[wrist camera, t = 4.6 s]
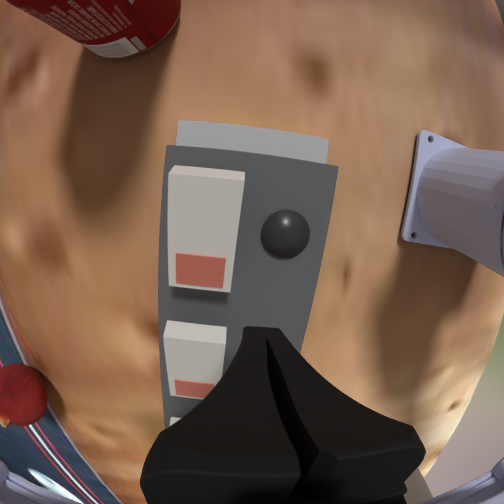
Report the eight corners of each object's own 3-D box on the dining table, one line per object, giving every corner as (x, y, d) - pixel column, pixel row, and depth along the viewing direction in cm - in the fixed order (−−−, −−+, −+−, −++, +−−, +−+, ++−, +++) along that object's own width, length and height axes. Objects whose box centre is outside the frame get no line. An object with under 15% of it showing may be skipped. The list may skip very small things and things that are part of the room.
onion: (18, 379, 23) (-15, 426, 15) (10, 339, 21) (-32, 387, 13) (61, 400, 23) (32, 455, 16) (56, 362, 22) (18, 420, 14)
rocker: (244, 172, 13) (244, 181, 12) (231, 278, 16) (230, 293, 15) (174, 165, 13) (167, 174, 12) (173, 271, 16) (168, 286, 15)
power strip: (326, 139, 17) (347, 136, 14) (263, 441, 26) (266, 469, 22) (180, 121, 17) (167, 113, 13) (173, 433, 25) (167, 462, 21)
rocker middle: (226, 327, 16) (225, 344, 15) (220, 386, 19) (219, 401, 18) (167, 320, 15) (162, 337, 14) (173, 381, 19) (170, 396, 17)
